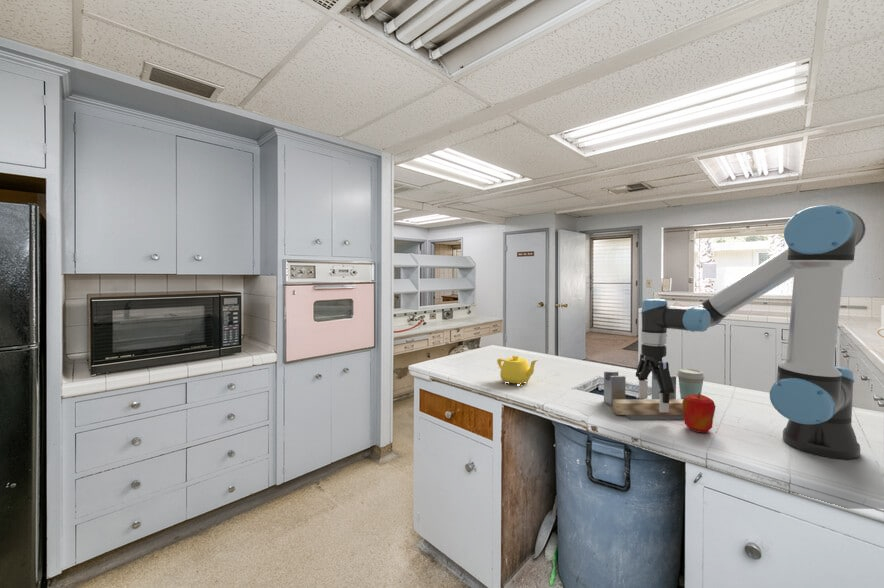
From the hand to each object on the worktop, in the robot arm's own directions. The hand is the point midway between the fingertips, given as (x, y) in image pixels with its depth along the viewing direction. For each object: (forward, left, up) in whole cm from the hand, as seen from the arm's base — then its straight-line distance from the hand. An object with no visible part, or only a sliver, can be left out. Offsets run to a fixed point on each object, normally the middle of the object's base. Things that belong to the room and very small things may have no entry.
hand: (653, 404), depth 128 cm
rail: (0, 0, -3) cm, 3 cm away
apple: (-13, -7, -4) cm, 15 cm away
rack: (+10, 0, -3) cm, 11 cm away
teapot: (+38, +41, -4) cm, 56 cm away
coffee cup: (+12, -20, -4) cm, 24 cm away
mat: (0, -2, -3) cm, 4 cm away
